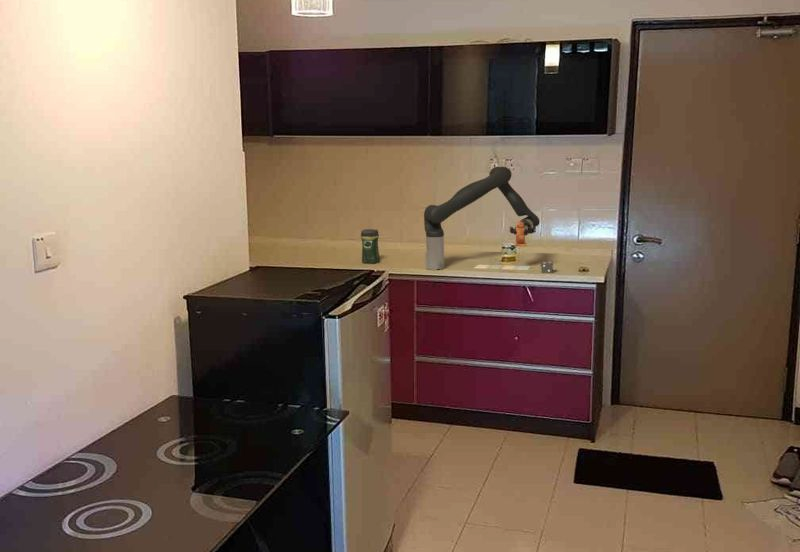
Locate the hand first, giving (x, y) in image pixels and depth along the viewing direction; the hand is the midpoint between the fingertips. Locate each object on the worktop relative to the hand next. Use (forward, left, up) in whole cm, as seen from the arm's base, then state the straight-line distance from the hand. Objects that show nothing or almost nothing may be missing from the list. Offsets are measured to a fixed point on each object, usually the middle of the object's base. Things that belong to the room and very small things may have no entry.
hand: (519, 232), depth 384 cm
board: (-9, +2, -20) cm, 22 cm away
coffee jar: (-84, +10, -20) cm, 87 cm away
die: (+14, +1, -20) cm, 24 cm away
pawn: (0, +3, -7) cm, 8 cm away
